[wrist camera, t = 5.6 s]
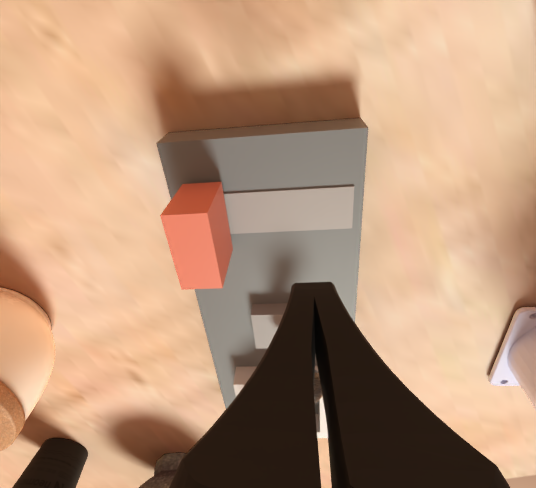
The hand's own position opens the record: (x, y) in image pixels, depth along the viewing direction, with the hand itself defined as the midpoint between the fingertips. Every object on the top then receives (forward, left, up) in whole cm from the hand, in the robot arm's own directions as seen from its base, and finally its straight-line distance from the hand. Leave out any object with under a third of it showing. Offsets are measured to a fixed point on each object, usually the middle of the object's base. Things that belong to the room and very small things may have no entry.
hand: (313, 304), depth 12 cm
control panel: (+2, +8, -9) cm, 12 cm away
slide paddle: (+5, 0, -7) cm, 9 cm away
